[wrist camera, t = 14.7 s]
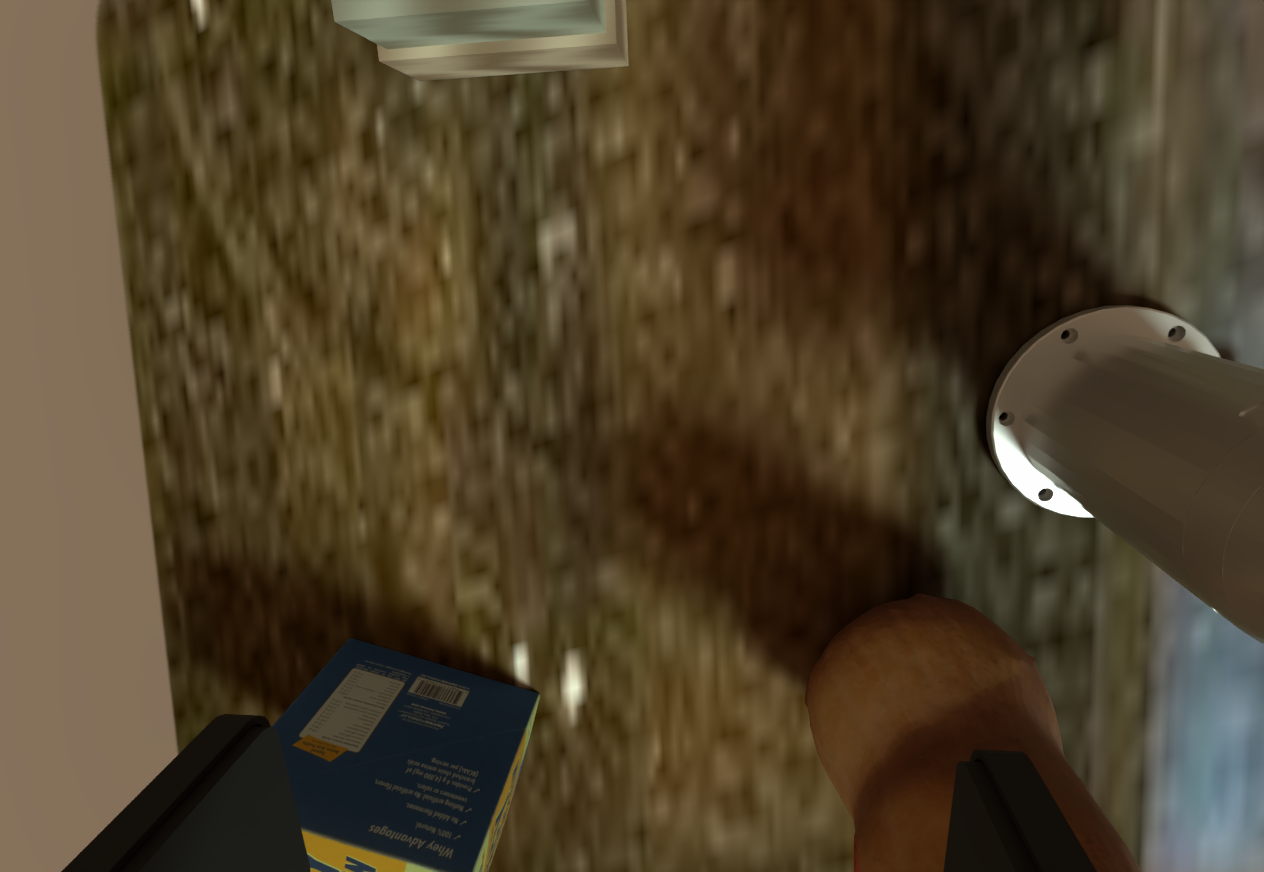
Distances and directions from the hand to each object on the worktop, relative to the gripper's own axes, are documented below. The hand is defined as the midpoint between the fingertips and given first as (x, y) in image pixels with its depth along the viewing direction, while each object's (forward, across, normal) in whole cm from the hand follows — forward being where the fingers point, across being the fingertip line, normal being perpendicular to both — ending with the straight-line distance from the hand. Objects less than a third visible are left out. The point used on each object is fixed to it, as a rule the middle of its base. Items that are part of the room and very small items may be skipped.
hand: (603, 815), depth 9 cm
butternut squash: (+34, -14, +21) cm, 43 cm away
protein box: (+35, +20, +28) cm, 49 cm away
